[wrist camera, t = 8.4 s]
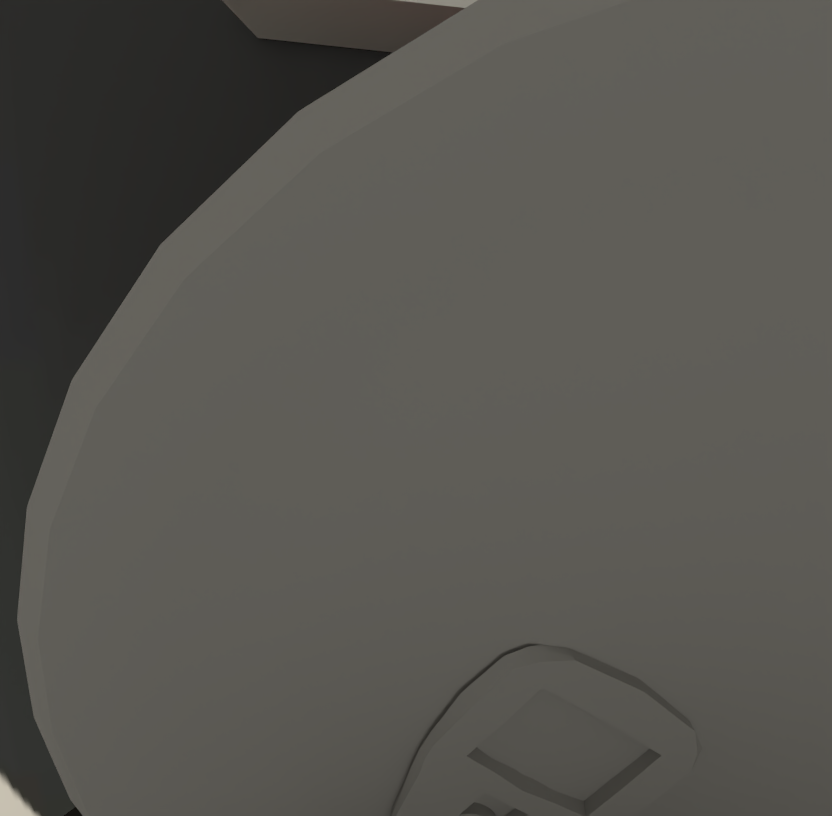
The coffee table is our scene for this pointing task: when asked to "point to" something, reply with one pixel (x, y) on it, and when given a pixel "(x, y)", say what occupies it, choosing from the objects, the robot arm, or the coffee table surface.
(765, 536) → the canned food
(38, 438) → the coffee table surface
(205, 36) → the coffee table surface
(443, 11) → the bar
